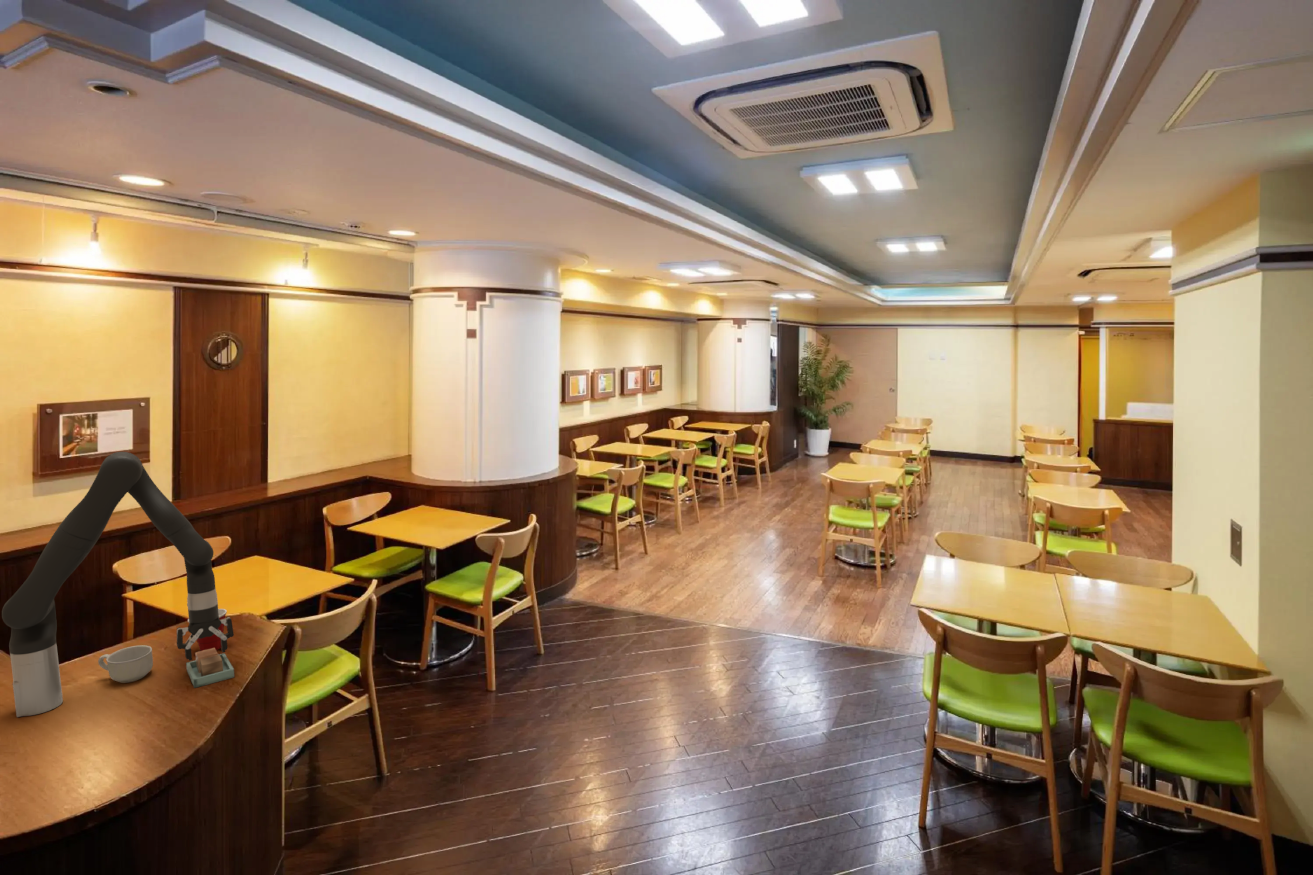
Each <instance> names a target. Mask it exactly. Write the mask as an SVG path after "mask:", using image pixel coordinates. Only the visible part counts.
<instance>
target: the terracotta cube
mask: <svg viewBox="0 0 1313 875" xmlns="http://www.w3.org/2000/svg"><path fill="white" fill-rule="evenodd" d="M194 654H195V660H196V665H197V670H198V672H199V673H201V669H200V660H201V659H205V658H209V657H213V656H217V655H219V653H218V650H216V649H215V648H212V649H207V650H203V651H201V650H199V651H196V652H194Z"/></svg>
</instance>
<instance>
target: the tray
mask: <svg viewBox="0 0 1313 875" xmlns="http://www.w3.org/2000/svg"><path fill="white" fill-rule="evenodd" d="M218 655H220V657H221V659H222V664H223V671H221V672H217V673H214V674H210V675H206V676H202V677H201V673H199V672H198V670H197V665H196V659H195V660H191V661H188V662H186V663H185V664H186V665H185V668H186V672H187V674H188V675H187V676H189V680H190V681H191V683H192V684H191V685H192V687H193V689H195V688H200V687H204V686H207V685H211V684H215V683H218V682H223V681H225V680H229V679H233V678H235V668H234V666H233V665H232V663H231V662H230V660H229V658H228V657H227V655H226V652H222V653H220V654H219V653H218Z"/></svg>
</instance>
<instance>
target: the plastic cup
mask: <svg viewBox="0 0 1313 875" xmlns="http://www.w3.org/2000/svg"><path fill="white" fill-rule="evenodd" d="M218 613H219V619H220V620H222V619H225V618H226V615H227V609H225V608H218ZM187 623H189V618H188V619H187ZM218 629H219V630H220V631H221V632H222V633H224V629H225V625H224V624H223V623H221V625H220V627H219V628H218ZM196 641H197V644H198V647H199V651H203V650H207V649H212V648H215V649H216V651H218V650H220V649H221V638H220V637H218V636H217V635H215V634H214V635H212V636H210V637H205V638H202V639H200V638H197V640H196Z"/></svg>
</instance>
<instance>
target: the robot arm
mask: <svg viewBox="0 0 1313 875" xmlns="http://www.w3.org/2000/svg"><path fill="white" fill-rule="evenodd" d="M127 493H128V494H129V495H130V496H131V497H132V498H133V499H134V500H135V501H136V503H138V505H139V506H140V508H141V509H142V511H143V512H144V513H145V514H146V516H147V518H148V519H149V520H150V521H151V523H152V524H153V526H154V527H156V528H155V529H157V530H158V531H159V532H160V533H161V535H163V536H164V537H165V538H166V539H167V540H168V541H169V542H171V544H172V545H173V546H174V548H175V549H177V551H178V552H179V553H180V554H181V556H182V557H183V560H184V566H185V572H186V588H187V591H186V592H187V596H186V599H187V600H186V602H187V603H186V605H187V613H188V614H187V615H188V619H189V622H188V626H186V627H181V626H179V627H177V628H176V647H177V649H178V650H184V653H185V658H186V660H188V662H191V661H193V656H192V655H193V654H192V648H191V647H192V646H193V645H194V644H195V643H196V641H197V638H200V639H202V638H205V637H210V636H212V635H214V634H215V635H217V636H218V637H220V638H221V648H220V649H221V652H222V653H226V650H228V640H229V639H230V638H232V637H234V636H235V634H234V633H235V632H234V627H233V621H232V617H230V616H225V619H222V620H220V619H219V613H218V609H219V604H218V603H219V602H218V593H217V590H216V589H217V588H216V582H215V581H216V579H215V573H214V570H213V567H212V566H213V565H212V559H213V557H214V550H213V547H212V545H211V544H210V542H209V541H207V540H206V539H204V538H203V537H202V536H201V535H200V534H199V532H197V531H196V529H195V527H194V526H193V525H192V523H191V522H190V521H189V520H188V518H186V516H185V515H184V514H183V513H182V512H181V511H180V510H179V509H178V507H176V506H175V505H174V504H173V503H172V502H171V501H170V500H169V498H168V497H166V495H165V494H164V493H163V492H162V491H161V489H159V487H158V486H157V484H156V483H155V482H154V481H153V479H152V478H151V477H150V476H149V473H148V472H147V470H146V468H145V467H144V465H143V463H142V461H141V459H140V458H139V457H138V456H137V455H135V454H134V453H131V452H127V451H117V452H113V453H111V454H109V455H108V456H107V457H105V458H104V460H103V461H102V463H101V465H100V467H99V470H98V473H97V475H96V476H95V478H94V480H93V482H92V484H91V486H90V488H89V489H88V491H87V492H86V494H85V496H84V497H83V498H82V499H81V500H80V501H79V502H78V504H77V505H76V506H75V507H73V509H72V510H70V512H69V513H68V514H67V515H66V517H65V518H64V519H63V520H62V522H60V524H59V526H58V527H57V528H56V530H55V531H54V533H53V534H52V536H51V537H50V539H49V541H48V542H47V544H46V545H45V547H44V549H43V550H42V552H41V554H40V556H39V558H38V559H37V561H36V563H35V565H34V567H33V569H32V571H31V572H30V573H29V575H28V577H27V578H26V580H25V581H24V582H23V584H21V585H20V587H19V588H18V589H17V591H16V592H14V593H13V595H12V596H10V598H9V599H8V600H7V601H6V602H5V603H4V605H3V607H2V609H1V619H2V621H3V623H4V624H5V625H6V626H7V627H9V628H11V630H10V631H11V632H10V638H9V644H8V647H9V656H10V663H11V664H10V665H11V671H12V672H11V673H12V674H11V675H12V680H13V681H12V689H13V697H14V706H15V714H16V718H20V717H27V716H35V715H40V714H42V713H47V712H49V711H51V710H53V709H56V708H57V707H59V706H61V705H62V704H63V701H64V700H63V690H62V681H61V680H62V679H61V673H60V665H59V664H60V662H59V655H58V646H57V629H58V626H57V625H58V624H57V614H56V613H57V612H56V610H57V609H56V602H55V597H56V595H57V594H58V592H59V590H60V589H61V587H62V586H63V584H64V583H65V582H66V580H67V579H68V578H69V577H70V576H71V575H72V574H73V573H74V572H75V571H76V569H77V568H78V567H79V566H80V565H81V564H82V562H83V561H84V560H85V558H87V556H88V555H89V553H91V551H92V549H93V548H94V546H95V545H96V544H97V542H98V540H99V539H100V537H101V535H102V533H103V532H104V531H105V529H106V527H107V525H108V524H109V521H110V519H111V517H112V516H113V512H114V511H115V509H116V507H118V505H119V503H120V502H121V501H122V500H123V498H124V497H125V496H126V495H127ZM221 623H223V624H224V627H225V626H226V629H227V630H226V631H227V633H224V632H223V633H222V632H221V631H220V630H219V629H218V628H219V627H220V625H221ZM187 632H189V633H190V635H189V637H188V639H187V640H186V641H185V643H183V642H184V639H183V638H184V636H185V635H186V633H187Z"/></svg>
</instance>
